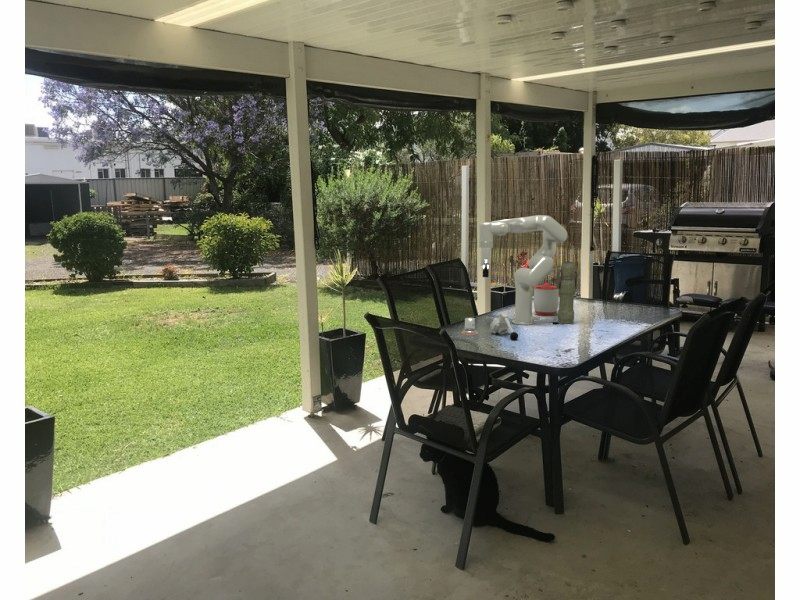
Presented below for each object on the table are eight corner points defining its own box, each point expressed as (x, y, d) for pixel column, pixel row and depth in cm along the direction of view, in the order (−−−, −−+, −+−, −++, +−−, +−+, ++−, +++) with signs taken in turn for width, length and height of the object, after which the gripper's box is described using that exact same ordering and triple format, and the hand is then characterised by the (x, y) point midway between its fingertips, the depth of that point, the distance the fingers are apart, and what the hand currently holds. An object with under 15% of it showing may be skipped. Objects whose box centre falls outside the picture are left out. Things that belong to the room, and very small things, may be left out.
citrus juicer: (564, 316, 386) (565, 283, 382) (535, 316, 386) (536, 283, 383) (558, 312, 401) (559, 280, 398) (530, 312, 401) (531, 280, 398)
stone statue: (579, 324, 364) (581, 262, 358) (560, 325, 361) (562, 263, 356) (571, 321, 373) (573, 261, 367) (552, 322, 370) (554, 261, 364)
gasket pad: (478, 331, 345) (478, 331, 345) (478, 335, 336) (478, 334, 336) (461, 331, 346) (461, 330, 346) (460, 334, 338) (460, 334, 338)
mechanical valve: (504, 326, 346) (512, 308, 335) (517, 352, 336) (526, 335, 324) (487, 328, 343) (494, 311, 332) (499, 355, 333) (507, 338, 321)
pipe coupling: (463, 331, 345) (463, 317, 344) (476, 331, 344) (476, 317, 343) (462, 333, 338) (463, 319, 337) (476, 334, 338) (476, 320, 336)
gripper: (479, 243, 360) (478, 274, 363) (479, 246, 344) (478, 278, 346) (492, 243, 360) (492, 274, 362) (493, 246, 343) (492, 278, 345)
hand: (485, 276), depth 354 cm, fingers open, 9 cm apart
